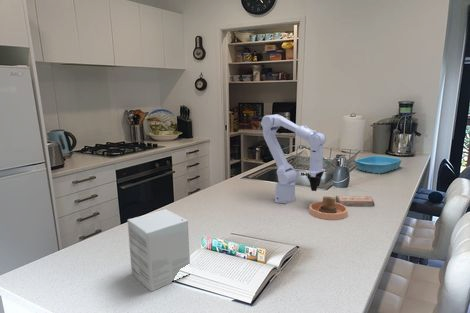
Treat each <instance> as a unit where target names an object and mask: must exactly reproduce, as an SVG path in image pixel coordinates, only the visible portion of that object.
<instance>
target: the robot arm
mask: <svg viewBox="0 0 470 313" xmlns="http://www.w3.org/2000/svg"><path fill="white" fill-rule="evenodd" d="M260 126H261V127H262V136H263V138H264V141H265V143H266V145H267V147H268V149H269V152H270V154H271V157H272V158H273V160H274V162H275V164H276V167H277V169H276V174H277V181H278V182H277V183H276V184H275V189H274V198H275V199H274V203H280V204H288V203H292V202H295V200H296V182H297V180H298V178H299V174H298V171H297V170H296V169H294V167H293V165H291V164H290V163H289V162H288V160H287V158H286V156H285V153H284V151H283V150H282V147H281V145H280V143H279V141H278V138H277V136H276V133H277V131H278V129H279V128H280V127H283V128H285V129H288V130H289V131H291V132H293V133H295V134H296V135H295V136H296V137H298V139H301V140H303V141H305V142H307V143H308V145H309V146H310V149H309V150H310V151H309V152H310V153H309V154H310V155H309V168H308V169H309V170H308V171H309V172H310V174H308V175H307V180H308V182H309V185H310V189H311V191H312V192H317V190H318V187H319V186H320V185H321V181H322V180H321V179H322V177H323V175H324V173H325V172H326V169H325V168H324V167H323V165H324V164H323V163H324V145H325V143H326V141H327V138H326V135H325V134H324V133H322V132H317V130H314V129H311V128H309V127H308V126H309V125H298V124H296V123H294V122H293V121H291V120H290V119H288V118H285V117H284V116H283V115H280V114H278V113H276V114H268V115H267V114H266V115H264V116H263V117H262V119H261V122H260Z"/></svg>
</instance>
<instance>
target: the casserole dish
mask: <svg viewBox="0 0 470 313" xmlns="http://www.w3.org/2000/svg"><path fill="white" fill-rule="evenodd" d="M402 161H403V159H402V158H399V157H396V156H389V155H388V156H387V155H370V156H365V157H362V158H361V157H360V158H356V159H355V160H354V162H355V165H356V168H357V169H358V170H359V171H361V170H362V171H361V172H365V171H366V173H370V172H372V173H371V174H377V173H378V174H385V173H387V172H388V171H389V172H391V170H392V171H394V169H395V170H396V169H398V168H399V167H400V165H401V163H402ZM378 174H377V175H378Z"/></svg>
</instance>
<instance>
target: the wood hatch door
mask: <svg viewBox="0 0 470 313" xmlns="http://www.w3.org/2000/svg"><path fill="white" fill-rule="evenodd" d="M335 200H336V196H326V195H324V196H323V197H322V201H323V205H322V209H325V210H333V211H335Z"/></svg>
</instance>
